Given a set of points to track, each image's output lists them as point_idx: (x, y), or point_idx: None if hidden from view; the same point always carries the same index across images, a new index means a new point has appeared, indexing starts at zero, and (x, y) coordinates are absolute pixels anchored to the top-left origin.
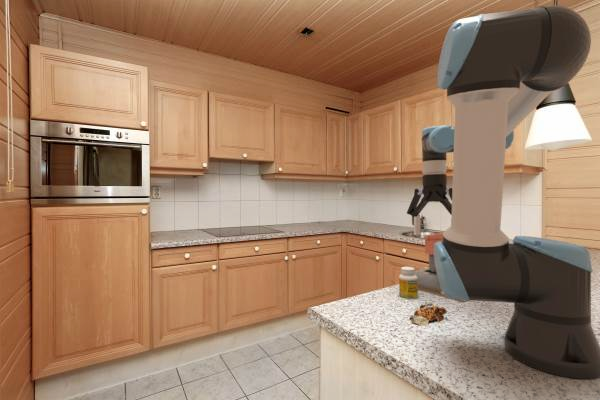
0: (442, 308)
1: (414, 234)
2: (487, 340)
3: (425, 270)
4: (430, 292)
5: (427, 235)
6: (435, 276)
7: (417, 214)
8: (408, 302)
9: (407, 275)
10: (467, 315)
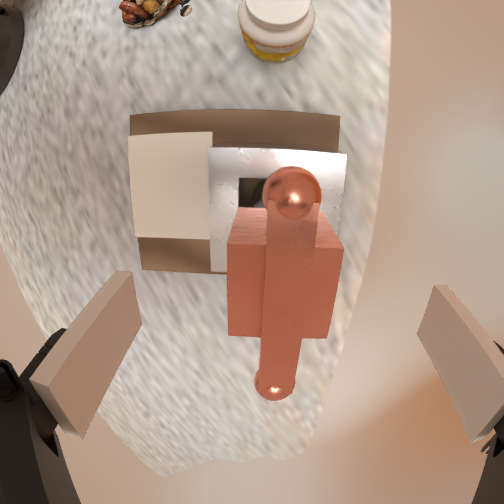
0: (122, 2)
1: (445, 286)
2: (42, 11)
3: None
4: (245, 117)
5: (284, 191)
6: (235, 147)
7: (498, 442)
8: None
9: None
10: (100, 68)
